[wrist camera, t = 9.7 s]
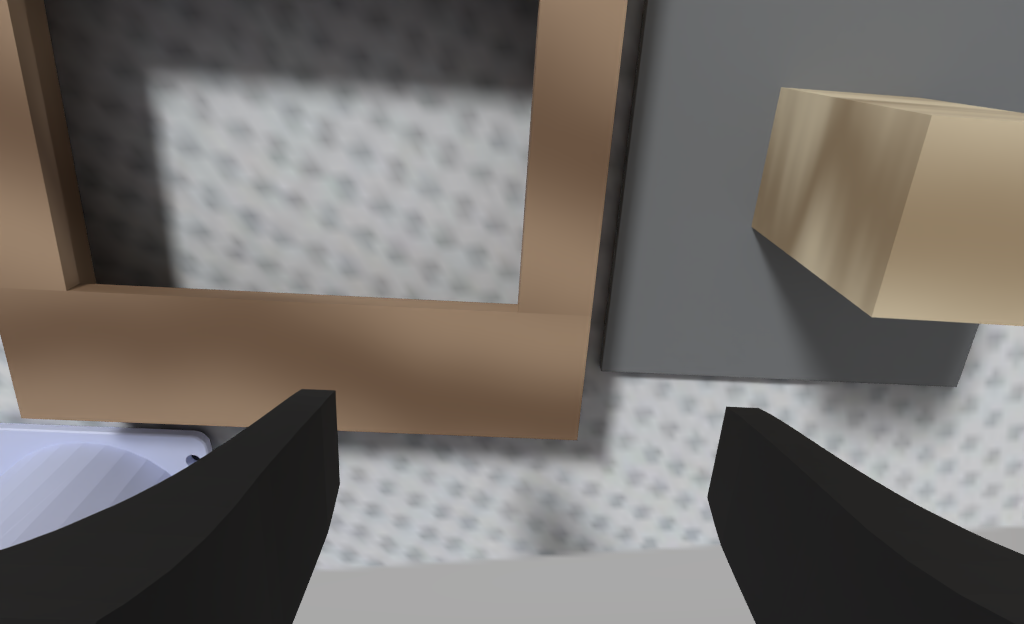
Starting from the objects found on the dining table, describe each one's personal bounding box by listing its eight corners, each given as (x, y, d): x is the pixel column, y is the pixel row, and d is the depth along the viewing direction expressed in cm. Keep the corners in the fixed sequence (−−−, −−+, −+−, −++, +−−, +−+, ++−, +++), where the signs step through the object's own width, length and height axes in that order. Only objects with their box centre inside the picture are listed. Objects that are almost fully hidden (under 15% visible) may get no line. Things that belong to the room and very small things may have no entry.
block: (880, 235, 20) (1058, 327, 14) (751, 226, 20) (871, 317, 14) (919, 97, 19) (1141, 130, 12) (780, 87, 19) (931, 115, 12)
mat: (949, 381, 23) (956, 386, 22) (599, 365, 22) (601, 370, 22) (1114, -93, 18) (1127, -95, 17) (660, -128, 17) (664, -131, 17)
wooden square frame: (567, 390, 23) (577, 440, 20) (81, 370, 22) (21, 418, 19) (626, -178, 17) (653, -221, 14) (-43, -232, 16) (-157, -288, 13)
